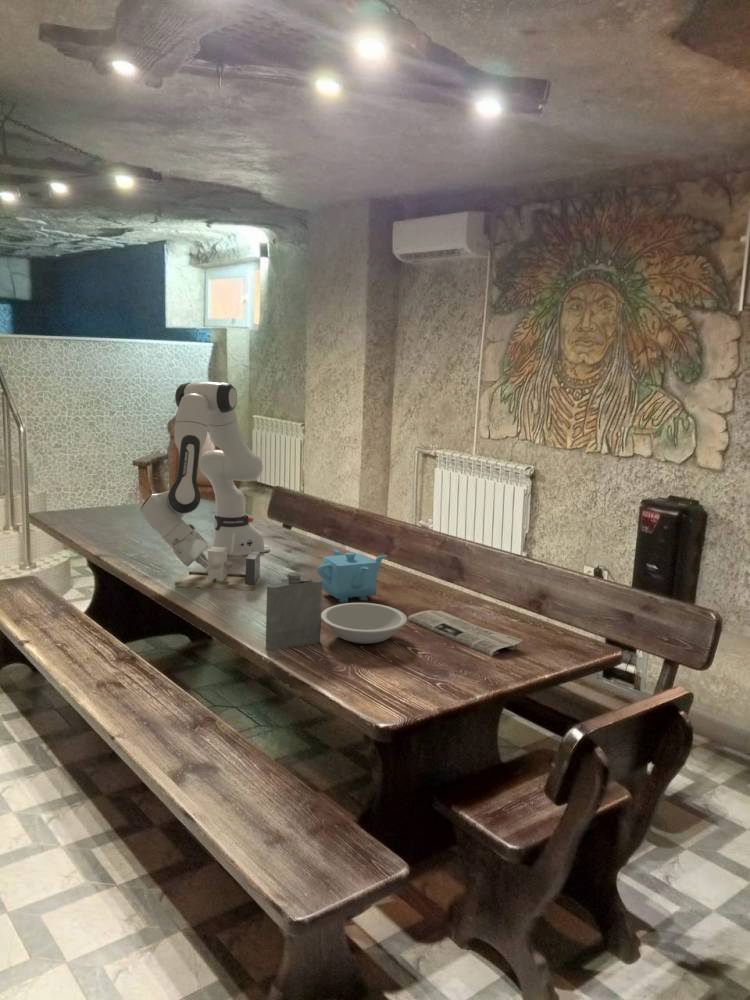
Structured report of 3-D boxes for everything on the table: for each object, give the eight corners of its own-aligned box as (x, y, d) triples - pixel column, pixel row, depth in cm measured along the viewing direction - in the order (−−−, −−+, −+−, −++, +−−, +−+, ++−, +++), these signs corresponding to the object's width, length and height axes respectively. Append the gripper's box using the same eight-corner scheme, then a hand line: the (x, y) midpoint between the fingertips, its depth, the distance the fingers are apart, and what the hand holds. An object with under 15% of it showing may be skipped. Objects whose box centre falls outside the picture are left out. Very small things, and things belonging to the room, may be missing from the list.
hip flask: (268, 651, 206) (270, 578, 202) (262, 646, 209) (263, 574, 205) (322, 642, 214) (324, 572, 210) (315, 637, 217) (317, 568, 214)
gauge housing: (206, 582, 256) (206, 553, 254) (212, 575, 265) (212, 546, 263) (227, 583, 256) (227, 554, 254) (232, 576, 265) (233, 547, 263)
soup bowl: (410, 655, 208) (412, 632, 206) (320, 654, 206) (321, 630, 204) (400, 624, 231) (402, 603, 230) (319, 623, 229) (320, 601, 228)
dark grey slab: (245, 585, 257) (245, 558, 255) (250, 576, 267) (251, 550, 265) (254, 585, 257) (254, 559, 255) (259, 576, 267) (260, 551, 265)
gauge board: (175, 586, 256) (175, 579, 256) (184, 576, 268) (184, 569, 268) (253, 590, 256) (253, 584, 256) (260, 580, 268) (260, 573, 267)
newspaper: (407, 622, 235) (407, 610, 234) (436, 614, 243) (437, 603, 242) (495, 660, 209) (496, 647, 208) (525, 650, 217) (526, 638, 216)
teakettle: (312, 601, 249) (313, 556, 246) (332, 585, 266) (334, 543, 264) (368, 609, 243) (370, 563, 241) (385, 592, 261) (387, 550, 258)
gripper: (177, 537, 249) (207, 568, 250) (193, 523, 269) (221, 552, 271) (163, 550, 250) (193, 581, 251) (180, 535, 270) (208, 564, 271)
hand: (208, 566), depth 261 cm, fingers closed, pressing on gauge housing
